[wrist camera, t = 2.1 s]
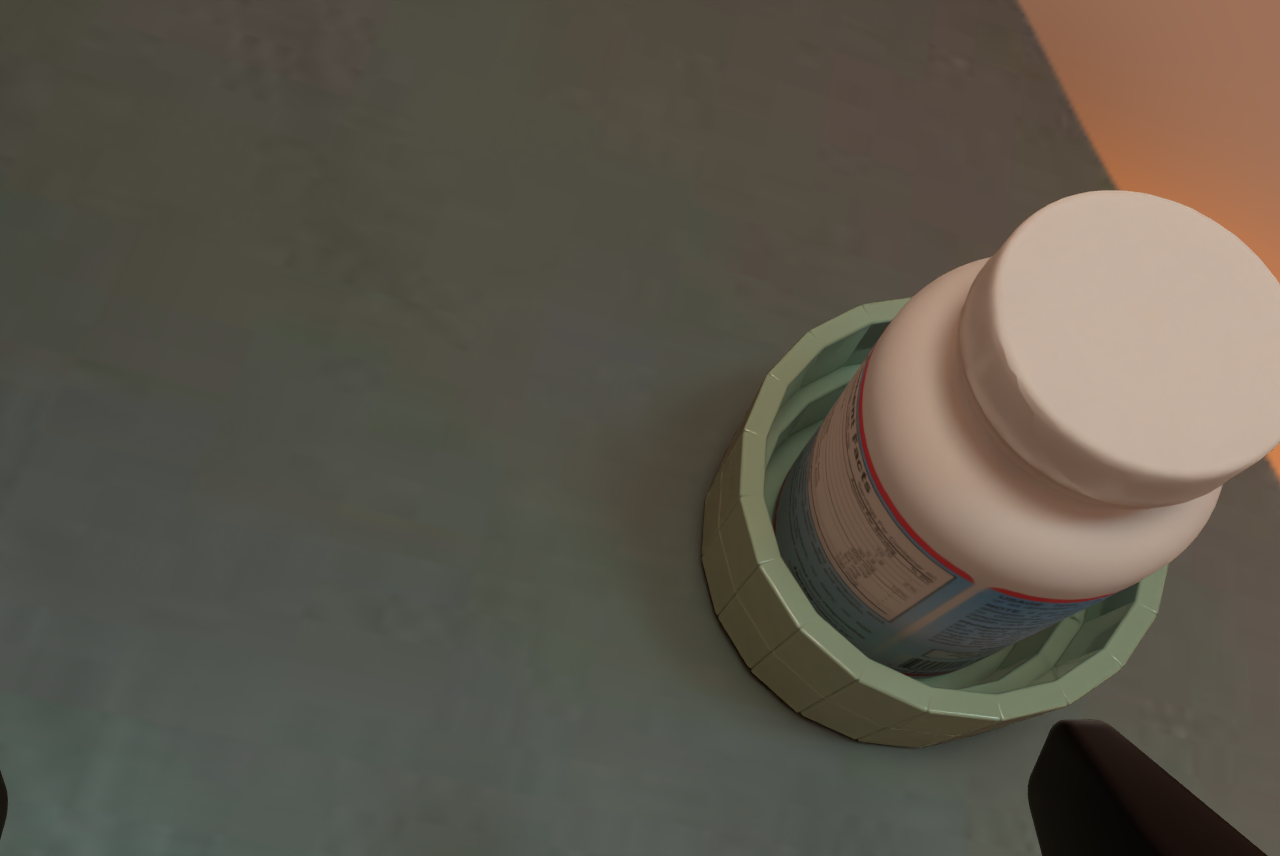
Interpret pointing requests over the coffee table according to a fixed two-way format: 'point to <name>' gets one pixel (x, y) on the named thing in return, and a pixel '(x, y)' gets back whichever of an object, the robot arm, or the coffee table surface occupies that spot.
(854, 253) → the coffee table surface
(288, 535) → the coffee table surface
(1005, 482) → the pill bottle
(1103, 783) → the robot arm
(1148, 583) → the bowl
